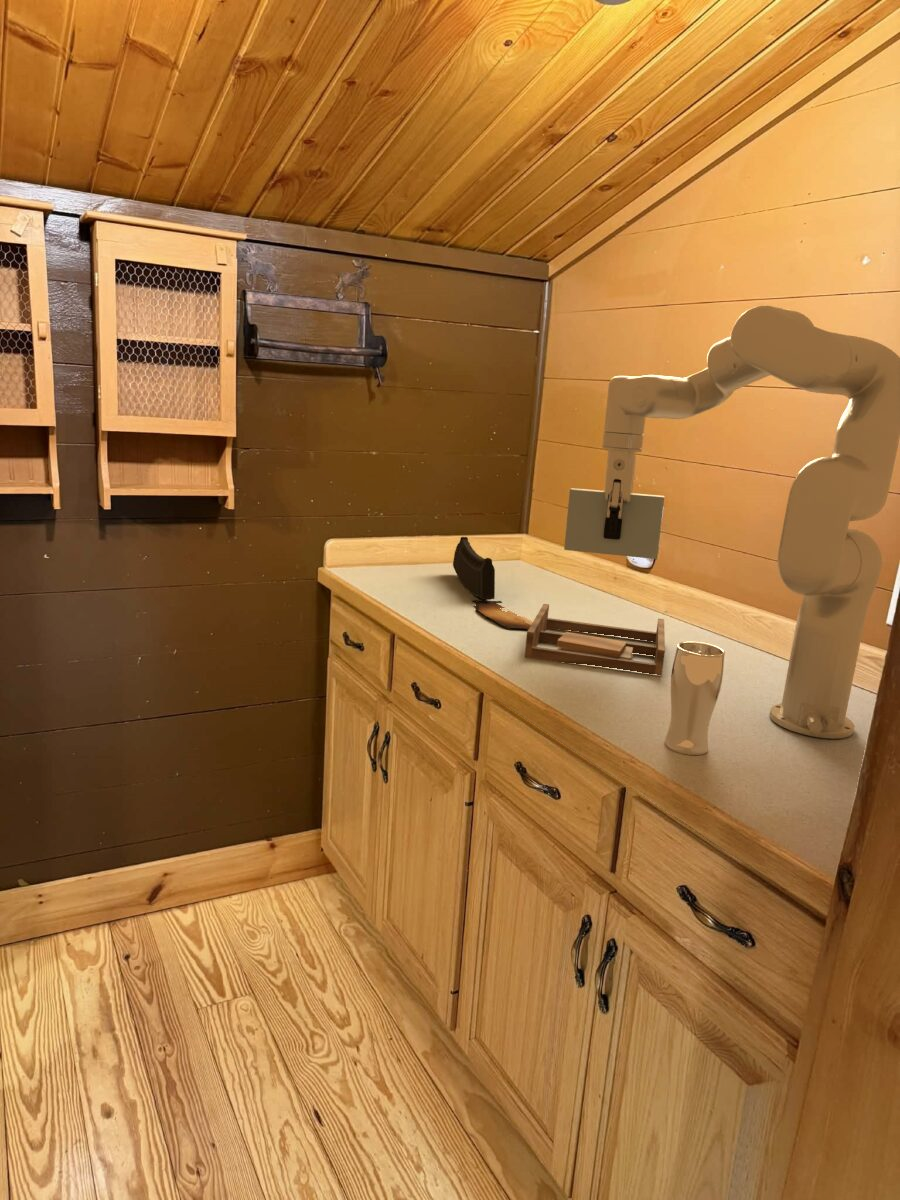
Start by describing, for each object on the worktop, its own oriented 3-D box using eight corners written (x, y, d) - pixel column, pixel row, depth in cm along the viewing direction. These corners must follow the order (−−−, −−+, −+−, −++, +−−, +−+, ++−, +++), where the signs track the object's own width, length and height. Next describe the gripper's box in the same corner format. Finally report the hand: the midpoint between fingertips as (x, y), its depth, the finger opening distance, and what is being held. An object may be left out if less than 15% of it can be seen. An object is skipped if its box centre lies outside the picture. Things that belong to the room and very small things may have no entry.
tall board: (656, 559, 163) (664, 497, 160) (564, 549, 166) (569, 489, 164) (656, 556, 165) (664, 495, 163) (565, 547, 169) (571, 488, 167)
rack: (661, 676, 153) (665, 650, 152) (524, 657, 158) (527, 631, 157) (660, 642, 175) (664, 619, 174) (541, 626, 181) (543, 603, 179)
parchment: (545, 632, 177) (546, 628, 177) (503, 632, 174) (503, 627, 174) (500, 603, 200) (500, 600, 200) (462, 603, 197) (462, 599, 196)
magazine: (500, 569, 192) (472, 512, 217) (486, 568, 192) (460, 511, 216) (488, 631, 201) (463, 569, 226) (475, 631, 200) (451, 569, 225)
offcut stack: (628, 671, 156) (630, 653, 155) (553, 659, 160) (555, 641, 159) (633, 659, 164) (635, 641, 163) (561, 647, 168) (563, 630, 167)
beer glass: (686, 734, 126) (701, 639, 123) (721, 753, 121) (737, 653, 117) (651, 740, 123) (665, 643, 120) (685, 759, 117) (700, 657, 114)
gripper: (641, 445, 152) (630, 545, 157) (643, 443, 168) (632, 533, 172) (600, 442, 154) (589, 541, 158) (605, 440, 170) (595, 530, 174)
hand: (612, 536), depth 165 cm, fingers closed on tall board, 3 cm apart
